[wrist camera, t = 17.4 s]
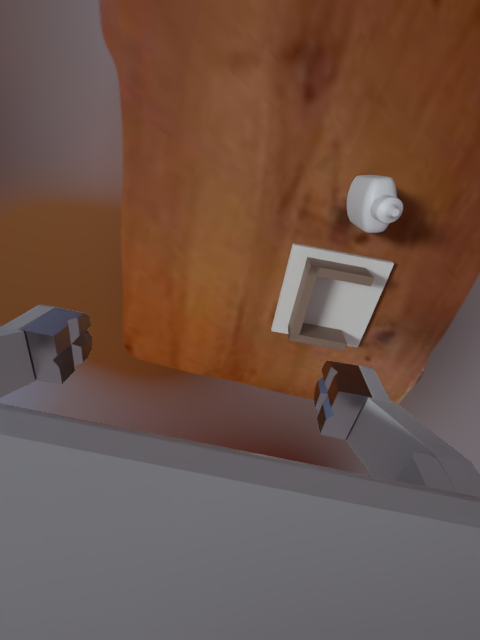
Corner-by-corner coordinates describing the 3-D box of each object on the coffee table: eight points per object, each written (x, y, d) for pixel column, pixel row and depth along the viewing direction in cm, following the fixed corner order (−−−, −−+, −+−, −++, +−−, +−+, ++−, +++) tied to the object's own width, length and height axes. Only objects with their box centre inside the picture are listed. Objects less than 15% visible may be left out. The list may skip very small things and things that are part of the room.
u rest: (292, 242, 40) (295, 252, 36) (391, 261, 40) (406, 273, 36) (271, 327, 47) (271, 344, 43) (356, 343, 47) (364, 362, 43)
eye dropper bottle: (389, 185, 36) (437, 194, 25) (360, 227, 39) (394, 250, 28) (359, 168, 35) (396, 170, 25) (332, 212, 38) (356, 229, 27)
